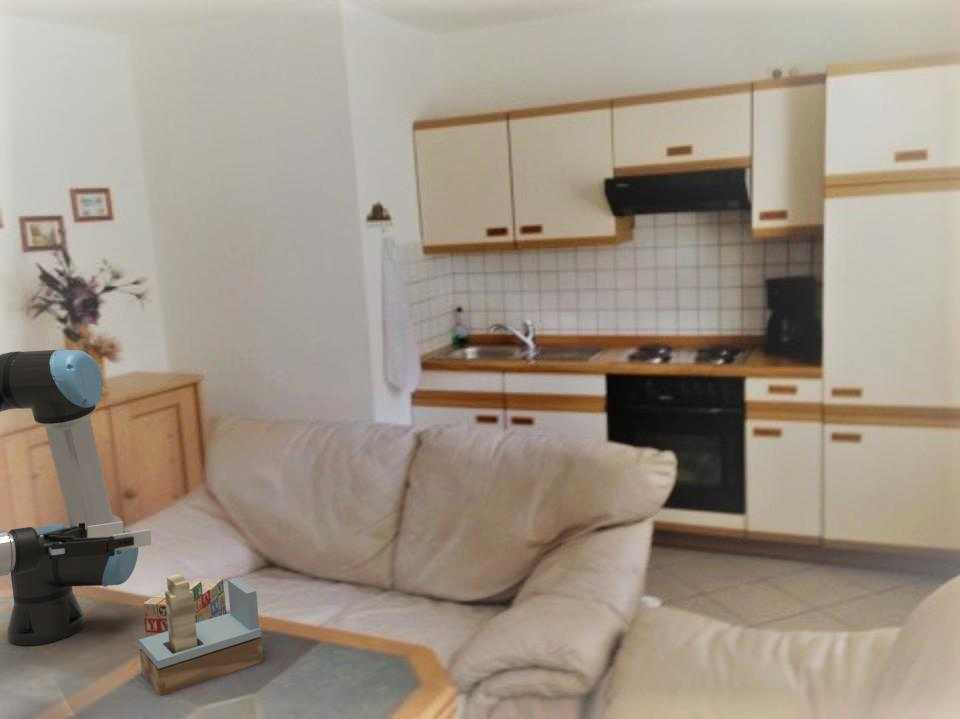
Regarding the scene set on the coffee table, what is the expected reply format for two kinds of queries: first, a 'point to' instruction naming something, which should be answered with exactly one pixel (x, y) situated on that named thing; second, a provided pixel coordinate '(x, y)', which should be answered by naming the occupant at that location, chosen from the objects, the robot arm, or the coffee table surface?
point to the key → (180, 614)
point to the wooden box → (202, 666)
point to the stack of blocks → (205, 605)
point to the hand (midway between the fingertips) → (136, 532)
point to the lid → (212, 629)
